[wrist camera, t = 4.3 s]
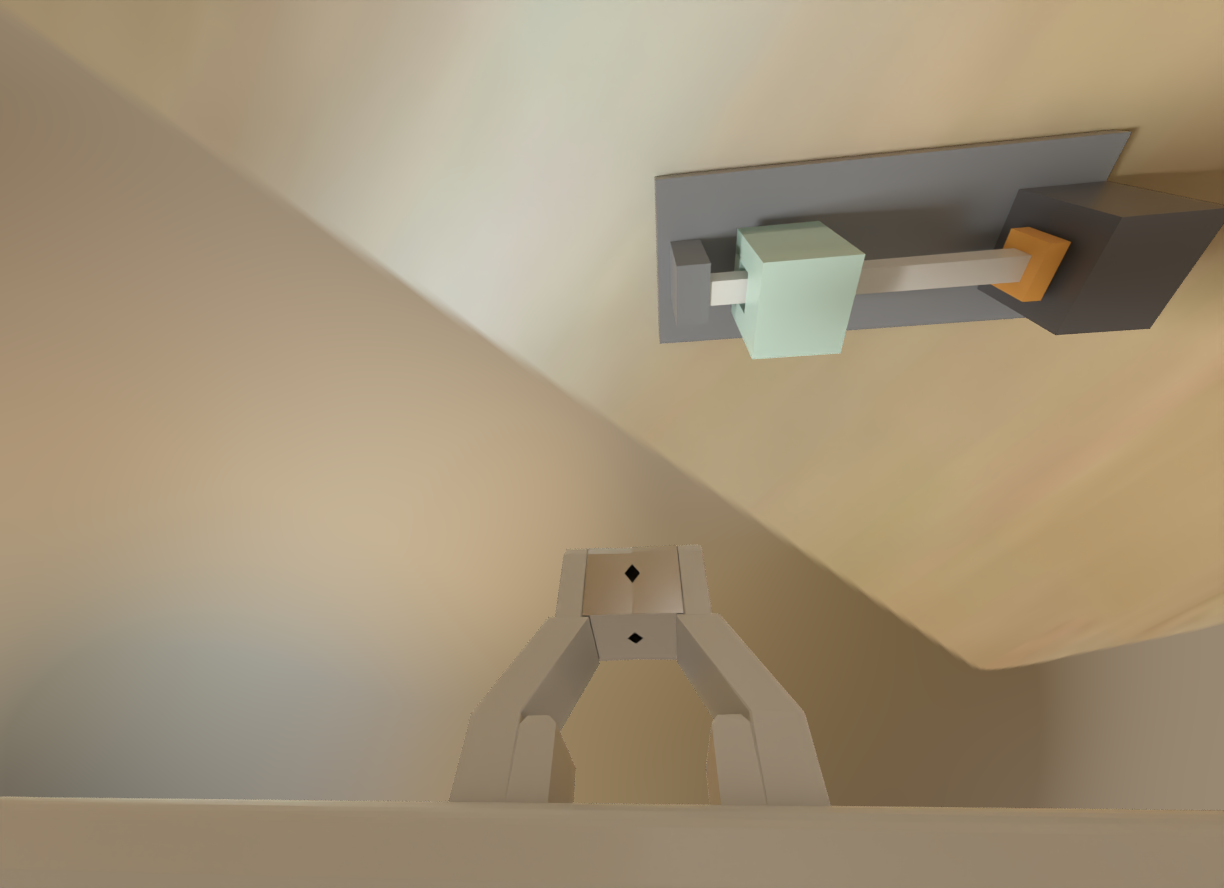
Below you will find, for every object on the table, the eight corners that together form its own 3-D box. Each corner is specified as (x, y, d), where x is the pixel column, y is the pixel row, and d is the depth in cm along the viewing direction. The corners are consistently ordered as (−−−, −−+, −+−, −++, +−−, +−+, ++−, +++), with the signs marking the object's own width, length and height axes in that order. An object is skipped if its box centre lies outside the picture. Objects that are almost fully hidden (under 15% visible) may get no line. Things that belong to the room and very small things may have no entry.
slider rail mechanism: (654, 176, 23) (662, 204, 18) (1113, 129, 21) (1278, 145, 16) (659, 336, 29) (666, 395, 23) (1023, 310, 27) (1122, 367, 22)
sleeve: (737, 228, 23) (763, 262, 18) (819, 220, 22) (865, 254, 18) (730, 311, 25) (752, 359, 21) (803, 306, 25) (840, 353, 21)
